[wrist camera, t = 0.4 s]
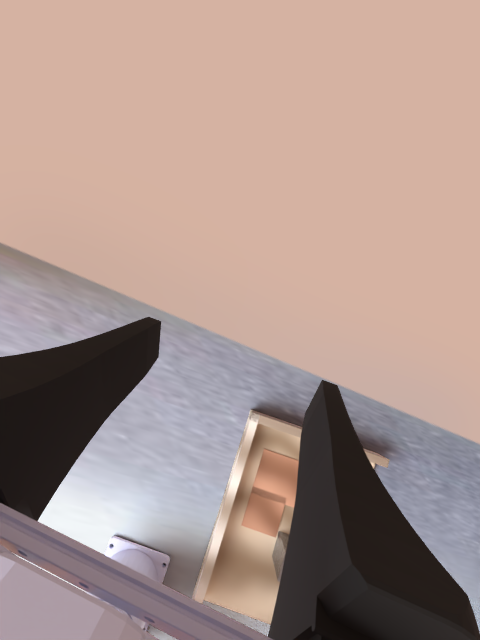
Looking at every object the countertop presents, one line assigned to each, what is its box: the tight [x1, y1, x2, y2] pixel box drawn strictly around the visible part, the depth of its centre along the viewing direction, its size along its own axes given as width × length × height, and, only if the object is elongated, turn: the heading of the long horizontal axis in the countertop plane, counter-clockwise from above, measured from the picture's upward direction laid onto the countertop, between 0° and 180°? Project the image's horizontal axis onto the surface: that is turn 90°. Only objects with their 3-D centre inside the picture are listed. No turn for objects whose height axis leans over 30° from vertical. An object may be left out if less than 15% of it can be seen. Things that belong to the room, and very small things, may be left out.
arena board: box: [192, 410, 389, 624], centre depth 36 cm, size 23×18×4 cm
